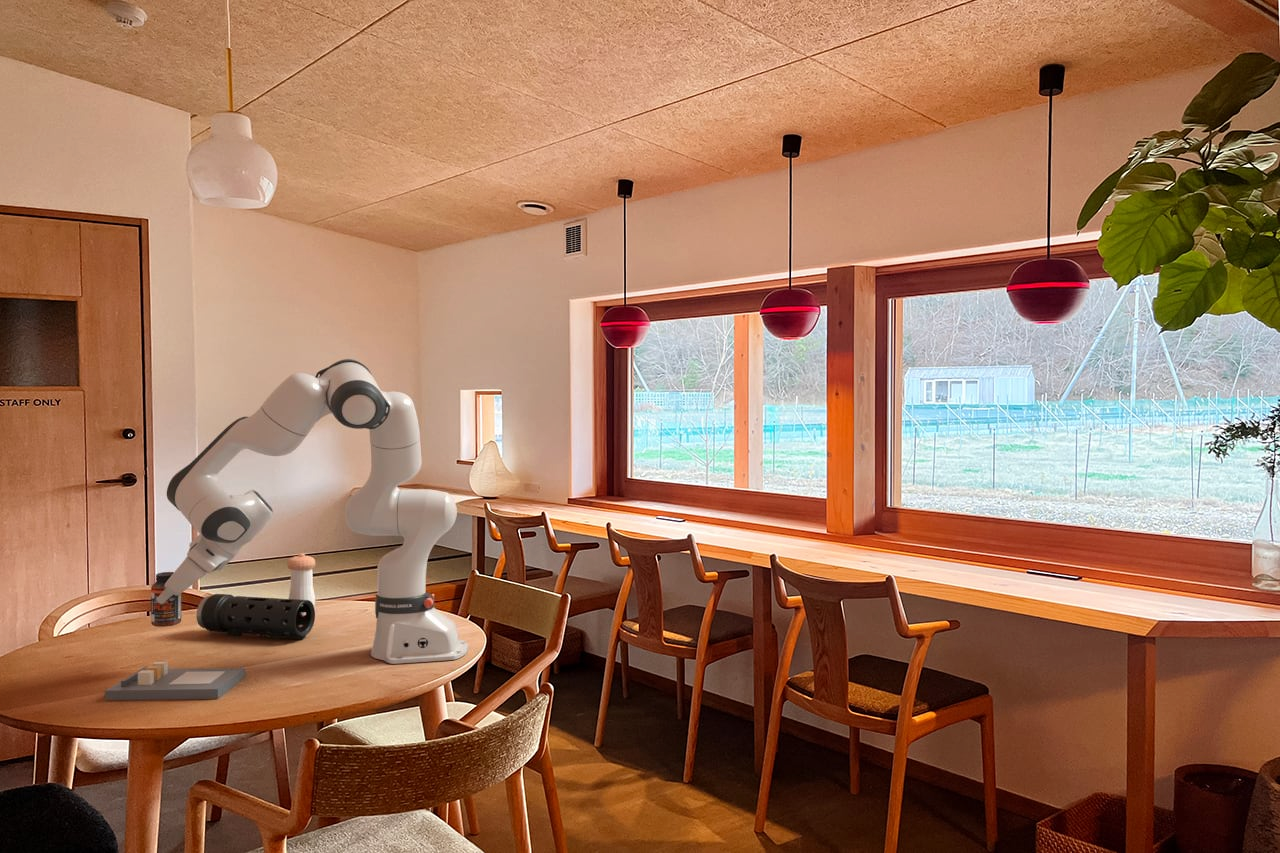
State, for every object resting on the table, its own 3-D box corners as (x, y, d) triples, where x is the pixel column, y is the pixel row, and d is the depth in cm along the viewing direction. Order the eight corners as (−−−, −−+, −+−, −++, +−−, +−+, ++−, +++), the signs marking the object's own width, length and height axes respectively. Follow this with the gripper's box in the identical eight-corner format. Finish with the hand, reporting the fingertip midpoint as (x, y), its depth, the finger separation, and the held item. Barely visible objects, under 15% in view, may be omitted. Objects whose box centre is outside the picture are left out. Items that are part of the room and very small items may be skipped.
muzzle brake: (294, 645, 216) (294, 603, 216) (194, 638, 222) (193, 597, 222) (316, 635, 226) (315, 595, 225) (219, 629, 231) (219, 589, 231)
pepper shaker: (314, 627, 233) (314, 555, 232) (285, 629, 231) (284, 556, 230) (318, 620, 240) (317, 550, 239) (289, 622, 238) (289, 551, 237)
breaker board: (245, 676, 191) (244, 656, 191) (217, 698, 178) (217, 676, 177) (140, 678, 190) (140, 657, 190) (105, 700, 176) (104, 678, 176)
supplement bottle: (150, 628, 192) (149, 577, 191) (151, 622, 197) (150, 572, 196) (181, 625, 194) (180, 574, 194) (181, 619, 200) (181, 569, 199)
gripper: (208, 534, 207) (162, 578, 204) (190, 550, 187) (139, 598, 185) (229, 552, 208) (184, 596, 206) (213, 569, 189) (163, 618, 186)
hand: (163, 597), depth 195 cm, fingers closed on supplement bottle, 6 cm apart
